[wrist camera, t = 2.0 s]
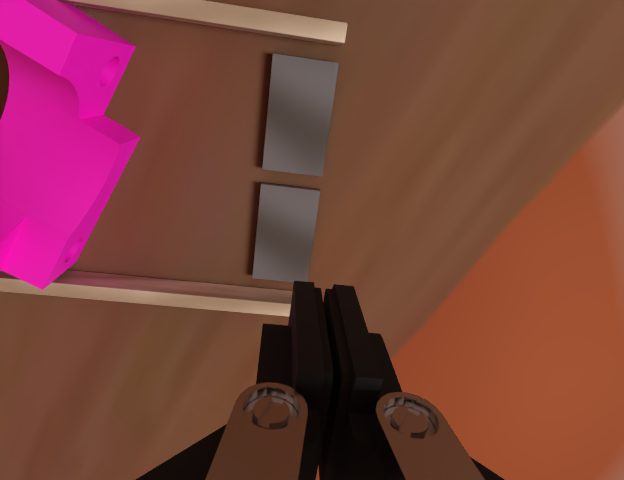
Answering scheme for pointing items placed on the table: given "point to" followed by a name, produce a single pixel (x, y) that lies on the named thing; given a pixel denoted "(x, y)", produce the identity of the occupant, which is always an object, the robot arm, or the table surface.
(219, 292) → the channel
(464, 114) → the table surface
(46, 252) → the toy block
